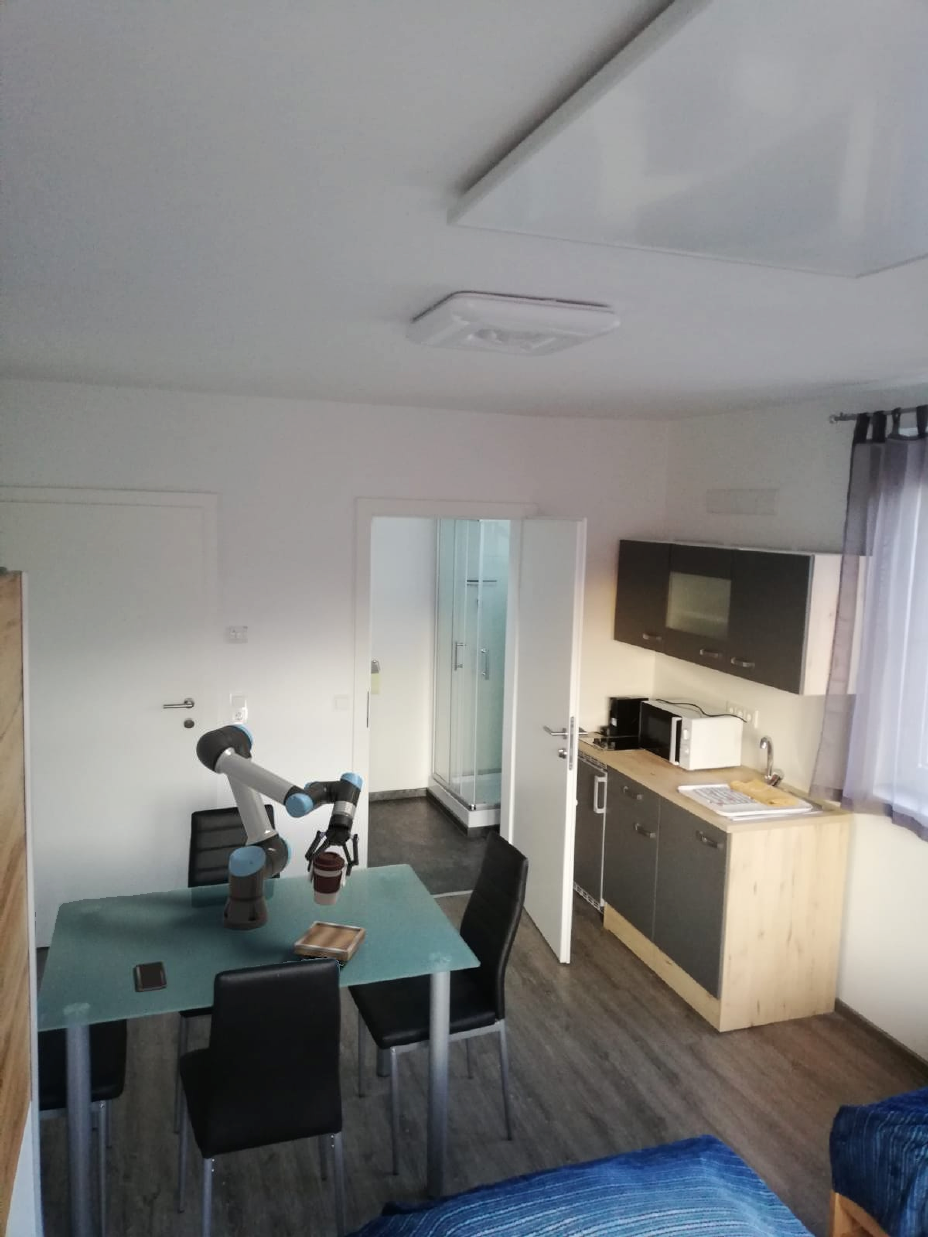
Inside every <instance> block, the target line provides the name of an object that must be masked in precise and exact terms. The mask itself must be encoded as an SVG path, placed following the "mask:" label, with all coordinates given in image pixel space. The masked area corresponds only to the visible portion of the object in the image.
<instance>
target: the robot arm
mask: <svg viewBox="0 0 928 1237" xmlns="http://www.w3.org/2000/svg"><path fill="white" fill-rule="evenodd" d="M253 739H254V738H253V736H252V734H251V732H250V731H249V730H248V729H247V728H246V727H245V726H243V725H241V724H228V725H224V726H222V727H219V728H217V729H214V730H210V731H207V732H205V733H203V734H202V735H201V736H200V737H199V739H198V740H197V743H196V747H195V751H196V756H197V758H198V760H199V762H200V763H201V764H202V765H203V766H204V767H206V769H209V771H211V772H213V773H215V774H217V775H222V774H224V775H226V778H227V781H228V783H229V784H228V785H229V786H230V789H231V792H232V795H233V798H234V801H235V803H236V807H237V809H238V813H239V815H240V819H241V821H242V824H243V827H244V829H245V832H246V835H247V837H248V838H247V840H246V842H245V846H244V847H239V848H237V849H235V850H234V851H233V852H232V853H231V854H230V856H229V863H228V866H227V867H228V892H227V894H228V896H227V897H228V898H227V899H226V903H225V906H224V909H223V911H222V914H221V915H222V918H221V922H222V924H223V925H224V926H225V927H228V928H229V929H233V930H252V929H256V928H260V927H262V926H263V925H265V924H267V923H268V922H269V920H270V919H269V918H270V913H269V912H270V911H269V908H268V905H267V901H266V898H265V882H267V881H268V880H270V879H271V878H273V877H274V876H276V875H277V874H280V873H281V872H283V871H284V869H286V868H287V867H288V866H289V864H290V862H291V858H292V849H291V845H290V844H289V842H288V841H287V840H286V839H285V838H284V837H281V836H280V834H279V831H278V830H275V829H274V828H273V827H272V824H271V821H270V819H269V816H268V813H267V810H266V807H265V803H264V802H263V801H264V800H263V798H262V795H263V796H265V797H267V798H268V799H270V800H272V801H274V802H276V803H277V804H280V805H281V806H283V807H285V811H286V812H287V813H288V815H289V816H290V817H291V818H295V819H300V818H302V817H305V816H308V815H309V814H311V813H312V812H313V811H316V810H318V809H319V808H321V807H322V806H324V805H333V806H332V807H333V808H332V810H331V812H330V814H331V816H330V818H329V821H328V826H327V828H326V830H325V831H321V830H319V829H318V830H316V833H315V837H314V838H313V840H312V843H311V844H310V846H309V848H308V849H307V851H306V852H305V854H304V858H305V860H306V861H307V862H308V865H307V868H306V870H307V872H308V874H307V875H308V876H307V878H306V879H307V883H308V884H310V885H312V884H313V876H314V866H313V859H314V857H316V856H318V855H319V854H320V853H322V852H327V850H328V849H329V848H331V847H335V846H336V847H341V848H342V850H343V852H344V855H345V856H344V857H345V859H346V862H347V863H345V865H344V868H342V877H341V882H340V887H341V888H345V886H346V882H347V877H350V876H351V873H352V868H353V867H355V866H356V867H357V866H359V865H360V862H359V861H360V860H359V846H358V844H359V840H360V837H359V835H358V833H354V834H353V833H352V834H351V832H352V829H353V823H354V819H355V816H356V812H357V807H358V802H359V799H360V795H361V792H362V786H363V779H362V777H361V776H360V775H359V774H357V773H354V772H345V773H343V774H342V775H341V776H340V778H339V780H331V781H329V780H328V781H326V780H325V781H323V780H322V781H321V780H320V781H318V780H315V781H309V782H306V784H304V785H305V786H304V787H303V788H302V787H300V786H297V785H296V784H294V783H293V782H290V781H288V780H286V779H284V778H282V777H281V776H279V775H277V774H276V773H273V772H271V771H270V770H268V769H266V768H264V767H262V766H260V765H259V764H256V763H255V762H253V761H252V759H253V756H252V752H251V750H252V747H253V746H254V745H253V744H254V740H253ZM324 838H325V839H324ZM323 839H324V841H323V843H321V841H322V840H323ZM349 840H351V841H352V857H353V859H352V857H351V854H350V852H349V849H348V846H347V842H348V841H349ZM320 844H321V845H320ZM318 846H319V847H318Z"/></svg>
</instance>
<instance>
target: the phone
mask: <svg viewBox="0 0 928 1237" xmlns="http://www.w3.org/2000/svg"><path fill="white" fill-rule="evenodd" d="M164 964H165V963H164V962H163V961H155V962H154V961H153V962H147V963H146V962H145V963H139V964H136V965H135V967H134V968H135V977H136V978H135V979H136V988H137V992H139V993H143V992H144V993H145V992H151V991H159V990H164V989H166V988H167V987H168V986H167V984H168V983H167V978H166V973H165V965H164Z"/></svg>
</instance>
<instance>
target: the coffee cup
mask: <svg viewBox="0 0 928 1237" xmlns="http://www.w3.org/2000/svg"><path fill="white" fill-rule="evenodd" d="M345 862H346V861H345V859H344V857H342V856H341V854H339V853H337V852H335V851H327V850H326V851H325V852H322V853H320V854H319V855H318V856H316V857H314V859H313V866H314V876H313V880H312V884H313V885H312V888H313V901H314V902H315V903H316V904H317V905H320V906H333V905H335V904H336V903H337V901H338V897H339V892H340V889H341V884H340V882H341V878H342V873H343V869H344V865H345V864H346V863H345Z"/></svg>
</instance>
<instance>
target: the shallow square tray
mask: <svg viewBox="0 0 928 1237" xmlns="http://www.w3.org/2000/svg"><path fill="white" fill-rule="evenodd" d="M366 933H367V932H366V927H361V926H360V927H359V926H353V925H348V924H339V923H331V922H326V921H320V920H319V921H318V920H315V921H313V923H312V924H311V925H309V928H307V930H306V931H305V932H304V933H303V934H302V935H301V936H300V937H299V939H298V940H297V941H296V942H295V943H294V952H293V953H294V954H299V955H300V956H301V957H300V958H301V960H302V959H307V958H309V956H310V957H311V956H312V957H319V958H324V957H332V958H336V959H335V960H337V959H338V960H337V961H338V963H339V962H340V964H341V965H343V964H344V963H345V964H346V962H349V961H350V959H351V958H352V956H353V954H354V953H355V952H356V951H357V949H358V947H359V946H360V945H361V944H362V943H363V941H364V939H365V938H366ZM307 960H308V959H307ZM345 961H346V962H345Z"/></svg>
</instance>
